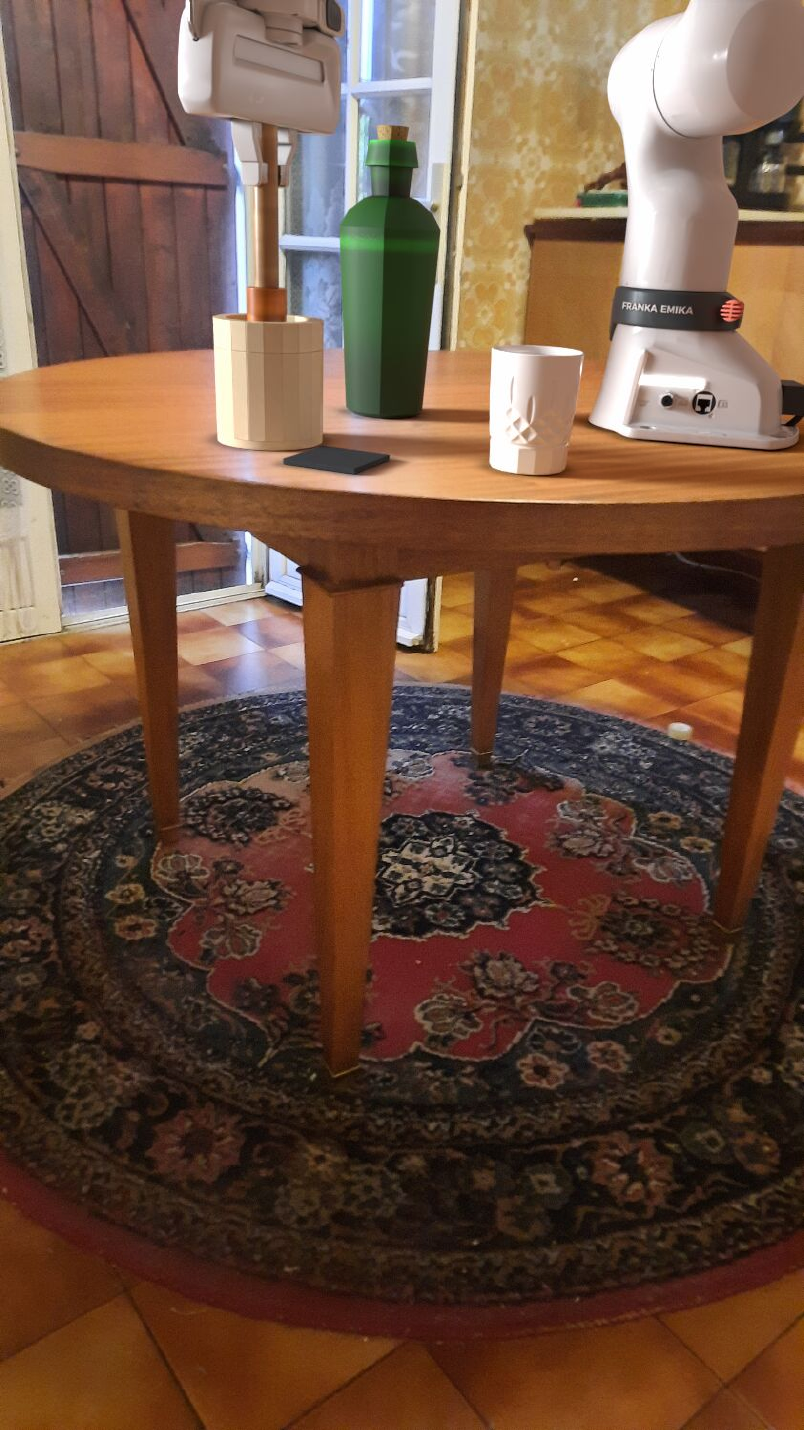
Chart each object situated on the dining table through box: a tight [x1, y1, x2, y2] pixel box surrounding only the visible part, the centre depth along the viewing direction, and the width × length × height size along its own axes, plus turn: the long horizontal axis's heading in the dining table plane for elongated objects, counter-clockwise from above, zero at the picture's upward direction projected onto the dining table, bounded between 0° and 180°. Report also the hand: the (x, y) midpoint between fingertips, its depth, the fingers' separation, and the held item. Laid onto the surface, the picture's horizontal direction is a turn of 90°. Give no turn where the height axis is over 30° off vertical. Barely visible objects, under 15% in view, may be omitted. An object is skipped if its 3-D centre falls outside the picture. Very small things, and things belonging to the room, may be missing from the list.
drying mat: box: [282, 445, 391, 475], centre depth 90 cm, size 7×7×1 cm
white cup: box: [489, 344, 585, 476], centre depth 89 cm, size 8×8×10 cm
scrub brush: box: [246, 123, 288, 322], centre depth 90 cm, size 4×4×17 cm
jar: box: [212, 312, 325, 452], centre depth 96 cm, size 10×10×11 cm
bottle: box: [338, 124, 441, 419], centre depth 109 cm, size 11×11×28 cm
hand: (266, 187), depth 89 cm, fingers closed on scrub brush, 2 cm apart
